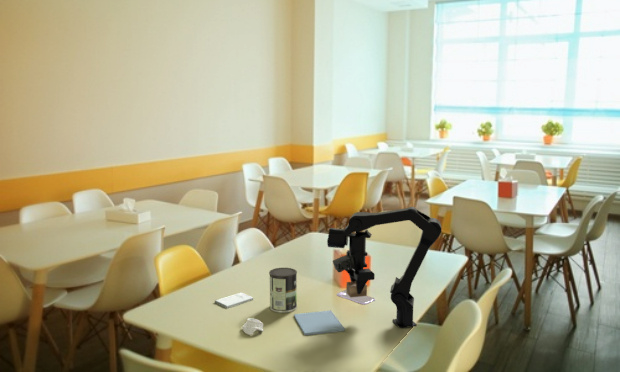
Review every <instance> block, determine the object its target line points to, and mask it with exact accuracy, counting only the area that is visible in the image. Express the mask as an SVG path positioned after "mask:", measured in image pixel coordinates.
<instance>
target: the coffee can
mask: <svg viewBox="0 0 620 372" xmlns="http://www.w3.org/2000/svg"><path fill="white" fill-rule="evenodd" d="M297 273H298V271H297V270H296V269H294V268H292V267H275V268H272V269H270V270H269V272H268V274H269V309H270V311H273V312H275V313H282V314H283V313H284V314H286V313H291V312H294V311H295V310H297V308H298V304H297V301H298V299H297V291H298V290H297V282H298V281H297Z"/></svg>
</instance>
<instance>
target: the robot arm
mask: <svg viewBox="0 0 620 372" xmlns="http://www.w3.org/2000/svg"><path fill="white" fill-rule="evenodd" d="M404 221H405V222H406V221H410V222H411V223H413V224H414V225H415V226H416V227H417V228H419V229H420V231H421V235H420V239H419V242H418V243H417V245H416V248H415V250H414V252H413V254H412V256H411V259H410V260H409V262H408V264H407V265H406V267H405V270H404V273H403V274H402V276H400V278H398V277H395V278H394V282H393V284H392V285H391V286H390V290H389V294H390V299H391V303H393V305H395V307H396V318H393V319H392V322H393V323H394V324H395V325H396V326H397V327H398V328H399V329H402V328H403V329H404V328H413V327H417V326H418V325H417V323H416V322H415V321H414V303H415V297H414V296H413V295H412V294H411V293H410V292H411V288H412V283H413V281H414V280H415V277H416V275H417V274H418V271H419V270H420V267H421V266H422V264H423V261H424V260H425V258H426V255H427V253H428V251H429V249H430V248H431V247H432V246H433V245H434V244H435V243H436V242H437V240H438V238H439V237H440V236H441V235H442V224H441V221H440V220H439V219H437V218H434V217H430V216H429V215H427V214H425V213H424V212H422V211H420V210H419V209H417V208H416V207H414V206H408V207H406V208H405V207H404V208H400V209H399V208H398V209H394V210H393V209H392V210H387V211H380V212H367V211H362V212H360V211H358V212H357V211H356V212H354V213H353V214H352V216H351V217H350V218H349V221H348V225H346V226H345V228H335V227H330V228H329V229H328V236H327V239H326V240H327V241H326V244H327V247H328V248H333V249H335V248H338V249H345V247H346V246H348V245H349V246H348V250H347V251H346V255H342V256H339V257H338V258H335V259H333V260H332V264H333V266H334V269H335V271H336V272H338V273H342V272H344V271H345V272H346V273H347V274H348V276H349V279H350V282H354V281H356V288H357V294H361V292H362V290H363V288H364V286H365V285H367V283H368V281H374V280H375V273H374V272H373V271H372V270H371V269H370V268H368V264H367V263H366V257H367V256H368V252H367V251H366V248H367V247H366V246H367V245H366V244H367V242H366V241H367V240H366V239H370V238H371V237H372V233H371V232H370V231H369V230H368V229H370V228H372V227H375V226H380V225H387V224H393V223H399V222H404Z"/></svg>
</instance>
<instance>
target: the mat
mask: <svg viewBox="0 0 620 372" xmlns="http://www.w3.org/2000/svg"><path fill="white" fill-rule="evenodd" d="M293 317H294V319H295V320H296V322H297V324H298V327H300V330H301V332H302V333H303V335H304V336H311V335H320V334H329V333H337V332H345V331H346V329H345V326H344V325H343V324H342V323H341V321H340V319H338V318H337V316H336V314H334V312H333V311H332V310H321V311H312V312H311V311H310V312H304V313H303V312H302V313H294V314H293Z"/></svg>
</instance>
